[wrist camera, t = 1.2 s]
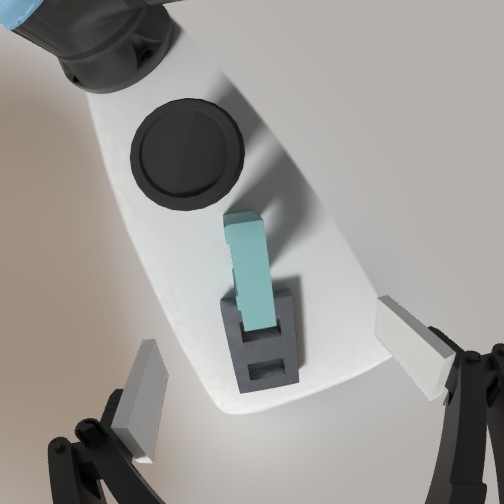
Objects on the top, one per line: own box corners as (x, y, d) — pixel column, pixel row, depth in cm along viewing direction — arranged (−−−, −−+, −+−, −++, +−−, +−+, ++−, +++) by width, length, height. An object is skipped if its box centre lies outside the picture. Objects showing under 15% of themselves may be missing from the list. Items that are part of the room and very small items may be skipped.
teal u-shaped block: (222, 209, 33) (222, 226, 22) (252, 204, 33) (266, 219, 23) (235, 286, 36) (241, 332, 25) (262, 281, 36) (279, 325, 26)
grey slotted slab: (220, 299, 36) (220, 308, 34) (288, 288, 37) (292, 295, 34) (238, 383, 40) (240, 393, 38) (295, 372, 41) (299, 382, 39)
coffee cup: (243, 136, 31) (261, 107, 17) (226, 203, 33) (230, 227, 19) (175, 121, 29) (141, 84, 15) (158, 189, 31) (112, 202, 17)
